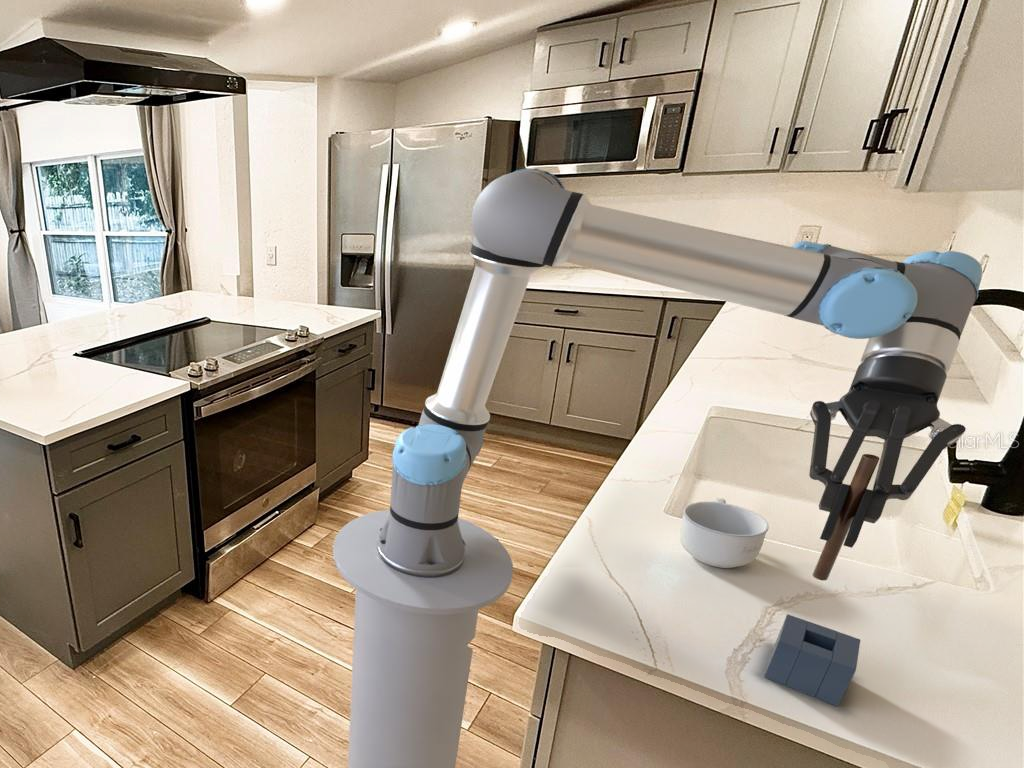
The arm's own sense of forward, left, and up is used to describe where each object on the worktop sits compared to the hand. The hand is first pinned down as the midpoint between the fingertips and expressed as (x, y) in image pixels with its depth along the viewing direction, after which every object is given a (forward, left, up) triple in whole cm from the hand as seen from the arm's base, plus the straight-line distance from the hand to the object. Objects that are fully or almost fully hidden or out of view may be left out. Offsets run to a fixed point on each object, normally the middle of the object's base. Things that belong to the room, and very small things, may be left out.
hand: (837, 539), depth 71 cm
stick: (0, +4, -8) cm, 9 cm away
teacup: (-12, +25, -21) cm, 35 cm away
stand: (+2, +1, -20) cm, 21 cm away
